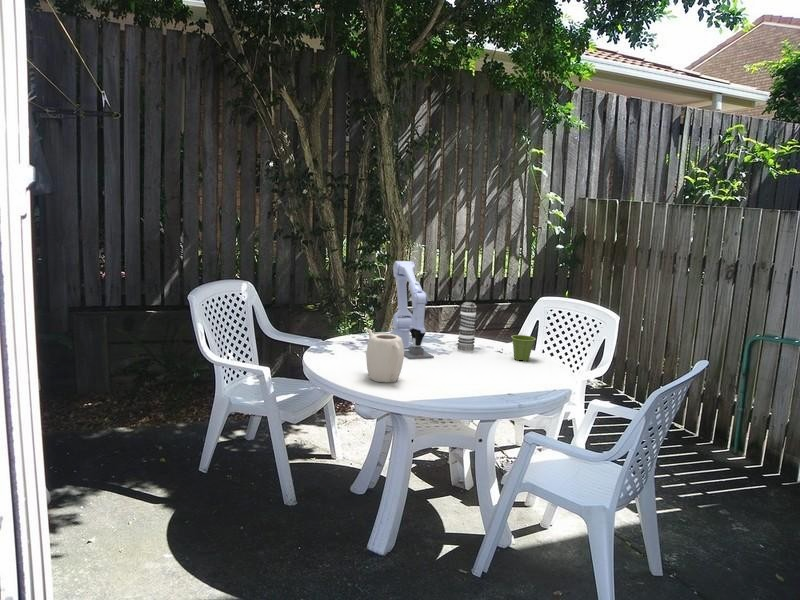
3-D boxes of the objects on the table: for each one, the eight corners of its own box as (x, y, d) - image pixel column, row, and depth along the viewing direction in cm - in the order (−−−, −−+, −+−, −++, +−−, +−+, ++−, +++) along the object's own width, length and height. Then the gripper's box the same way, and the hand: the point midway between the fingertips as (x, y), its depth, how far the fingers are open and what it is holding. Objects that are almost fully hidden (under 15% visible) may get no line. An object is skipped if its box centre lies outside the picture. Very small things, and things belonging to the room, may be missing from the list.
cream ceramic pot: (381, 369, 313) (383, 328, 310) (414, 385, 291) (417, 340, 288) (350, 372, 304) (352, 330, 301) (382, 389, 282) (385, 343, 279)
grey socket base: (398, 352, 346) (399, 343, 346) (422, 351, 351) (423, 343, 351) (408, 359, 335) (409, 349, 334) (433, 358, 339) (434, 348, 339)
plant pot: (507, 360, 343) (509, 338, 341) (511, 355, 354) (513, 333, 352) (531, 363, 339) (533, 341, 337) (535, 358, 350) (537, 336, 348)
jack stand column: (412, 352, 344) (413, 337, 342) (417, 352, 345) (418, 337, 344) (414, 353, 341) (415, 339, 340) (420, 353, 342) (421, 338, 341)
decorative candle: (453, 349, 361) (456, 301, 357) (469, 348, 365) (472, 301, 361) (461, 353, 353) (465, 304, 349) (477, 352, 356) (481, 304, 352)
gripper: (405, 314, 345) (403, 341, 347) (416, 320, 332) (415, 348, 334) (418, 314, 348) (416, 341, 350) (430, 320, 334) (428, 347, 337)
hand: (416, 344), depth 342 cm, fingers closed on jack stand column, 3 cm apart
